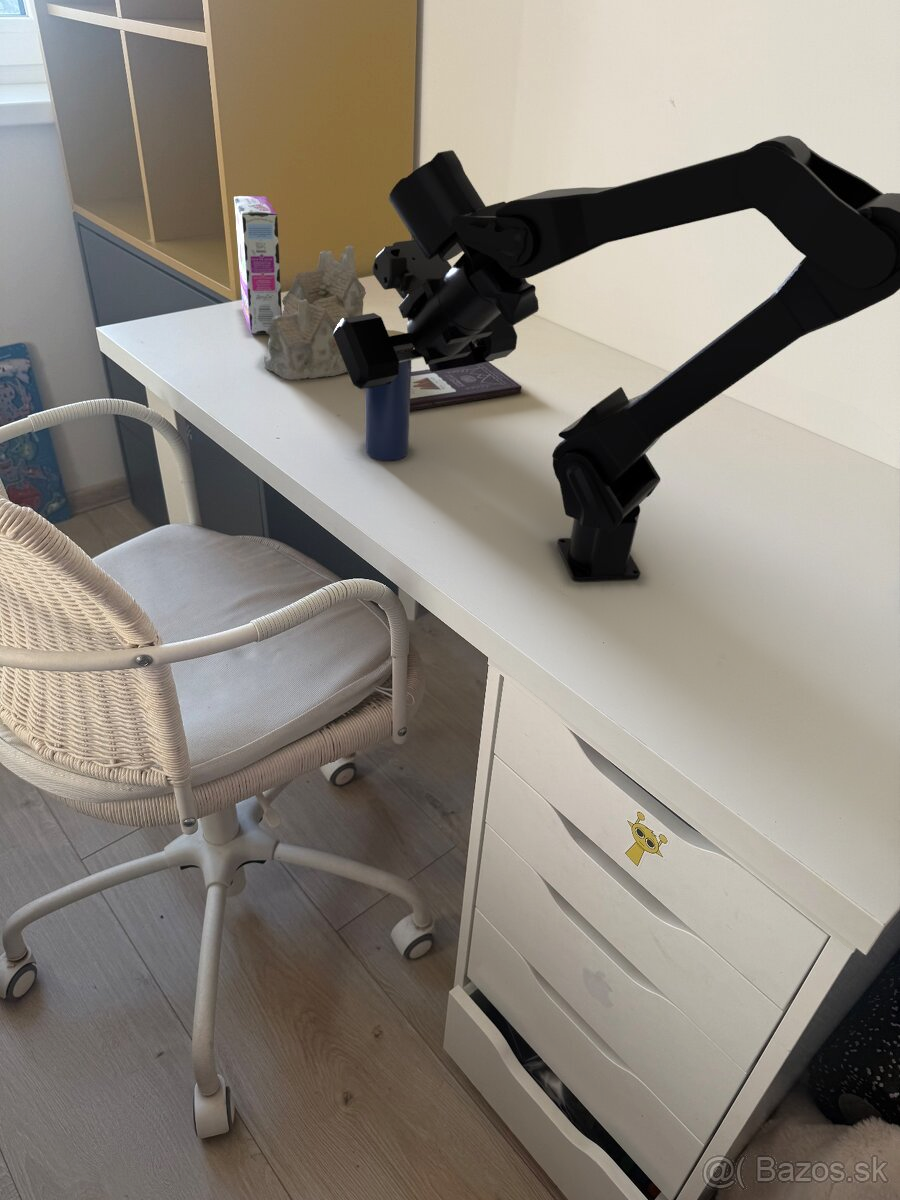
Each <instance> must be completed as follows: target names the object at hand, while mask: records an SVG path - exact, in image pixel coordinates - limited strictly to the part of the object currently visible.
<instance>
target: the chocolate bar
mask: <svg viewBox="0 0 900 1200" xmlns="http://www.w3.org/2000/svg"><path fill="white" fill-rule="evenodd" d="M516 394H517V395H518V394H522V384H520V383H518V382H517V381H515V380H514V379H513V378H512V377H510V376H509V375H507V374H506V373H505V372H503V371H502V370H501V369H499V368H498V367H497V366H495V365H494V364H492V362H491V361H489V362H485V363H481V364H476V365H470V366H465V367H458V368H452V369H447V370H441V371H435V372H431V371H430V368H428V369H421V370H416V371H415V370H414V371H411V387H410V411H417V410H423V409H428V408H435V407H442V406H448V405H454V404H460V403H467V402H473V401H480V400H485V399H486V400H487V399H493V398H499V397H505V396H512V395H516Z"/></svg>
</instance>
